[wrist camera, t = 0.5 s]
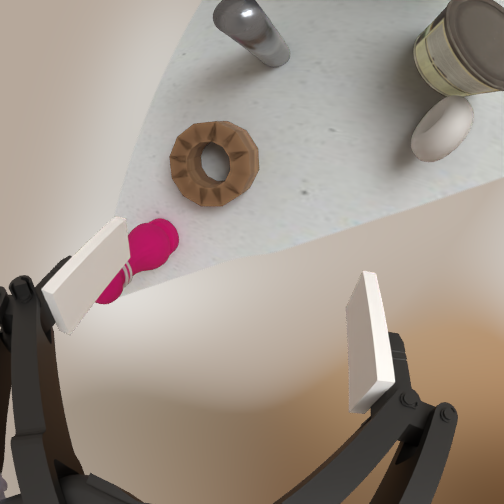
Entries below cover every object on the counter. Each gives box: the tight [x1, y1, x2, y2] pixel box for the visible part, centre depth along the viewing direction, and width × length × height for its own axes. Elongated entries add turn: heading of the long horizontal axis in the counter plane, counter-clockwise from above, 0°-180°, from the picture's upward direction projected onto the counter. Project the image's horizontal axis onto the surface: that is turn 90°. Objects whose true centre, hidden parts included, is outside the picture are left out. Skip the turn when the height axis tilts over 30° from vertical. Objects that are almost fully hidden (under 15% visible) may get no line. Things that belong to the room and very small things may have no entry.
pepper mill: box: [95, 218, 179, 304], centre depth 39 cm, size 7×7×20 cm
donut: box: [411, 95, 474, 162], centre depth 26 cm, size 10×4×10 cm, turn 145°
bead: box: [170, 121, 259, 206], centre depth 38 cm, size 11×11×4 cm
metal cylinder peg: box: [213, 0, 290, 67], centre depth 25 cm, size 4×4×16 cm
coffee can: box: [413, 0, 504, 97], centre depth 20 cm, size 10×10×14 cm
